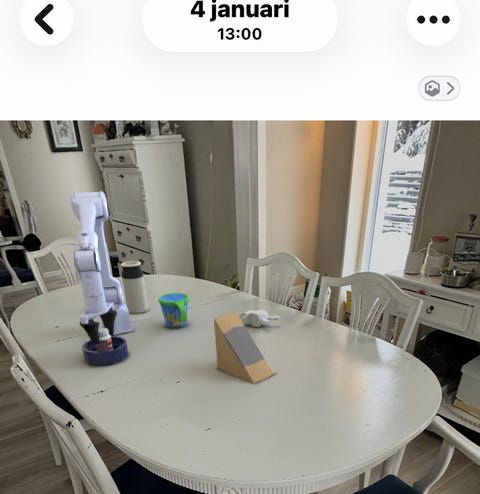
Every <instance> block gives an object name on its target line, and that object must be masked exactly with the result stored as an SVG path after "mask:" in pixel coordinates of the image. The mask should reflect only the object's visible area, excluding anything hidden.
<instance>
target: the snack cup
mask: <svg viewBox="0 0 480 494" xmlns="http://www.w3.org/2000/svg"><path fill="white" fill-rule="evenodd" d="M189 302H190V296H189V295H188V294H186V293H184V292H183V293H182V292H172V293H171V292H170V293H166V294H165V293H164V294H163V295H160V296H159V297H158V303H159V305H160V308H161V311H162V315H163V319H164V322H165V325H166V326H167V327H169V328H170V329H179V328H180V329H181V328H183V327H185V326H186V325H188V313H189V312H188V310H189Z"/></svg>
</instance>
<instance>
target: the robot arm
mask: <svg viewBox="0 0 480 494" xmlns="http://www.w3.org/2000/svg"><path fill="white" fill-rule="evenodd" d="M69 197H70V207H71V209H72V212H73V214H74V216H75V217H76V218H77V220H79V226H80V229H79V230H78V231H77V233H76V251H75V253H73V265H74V268H75V271H76V273H77V277H78V280H80V284H81V289H82V294H83V298H84V302H85V307H86V308H84V312H83V314H82V315H79V326H80V327H81V328H82V329H83V330H84V332H86V334H87V336H88V337H89V340H91V341H92V343H93V344H99V342H100V340H99V331H98V330H99V328H100V322H99V321H95V320H94V319H96V318H99V317H100V321H101V325H102V328H107V329H108V332H109V335H110V336H117V335H121V334H125V333H126V334H127V333H130V332H133V328H132V322H131V316H130V312H129V311H128V308H127V304H125V303H124V301H125V300H124V292H123V291H124V290H123V288H122V284H121V283H122V282H121V281H120V280H118V279H117V278H116V277H114V276H112V273H111V267H110V262H109V255H108V249H107V243H106V239H105V231H104V226H105V225H104V223H106V222H107V221H108V220H109V210H108V202H107V197H106V195H105V193H104V192H103V191H102V190H100V191H90V192H71V194H70V196H69Z"/></svg>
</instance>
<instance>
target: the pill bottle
mask: <svg viewBox="0 0 480 494" xmlns="http://www.w3.org/2000/svg"><path fill="white" fill-rule="evenodd" d="M98 331H99V340H100V342H99V344H96V346H97V351H98V352H101V351H109V350H113V346H112V341H111V336H110V335H109V332H108V329H107V328H103V327H99V330H98Z"/></svg>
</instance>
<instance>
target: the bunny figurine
mask: <svg viewBox="0 0 480 494" xmlns="http://www.w3.org/2000/svg"><path fill="white" fill-rule="evenodd" d="M238 316H239V317H240V319H241V321H242V323H243V324H244V325H250V326H252V327H255V328H261V326H267V325H269V324H270V321H271V320H273V321H279V320H281V317H280V316H279V315H269V314H268V312H267V310H264V309H258V310H253V309H250V310H247V311H244V312H242V313H240V314H238Z"/></svg>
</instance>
